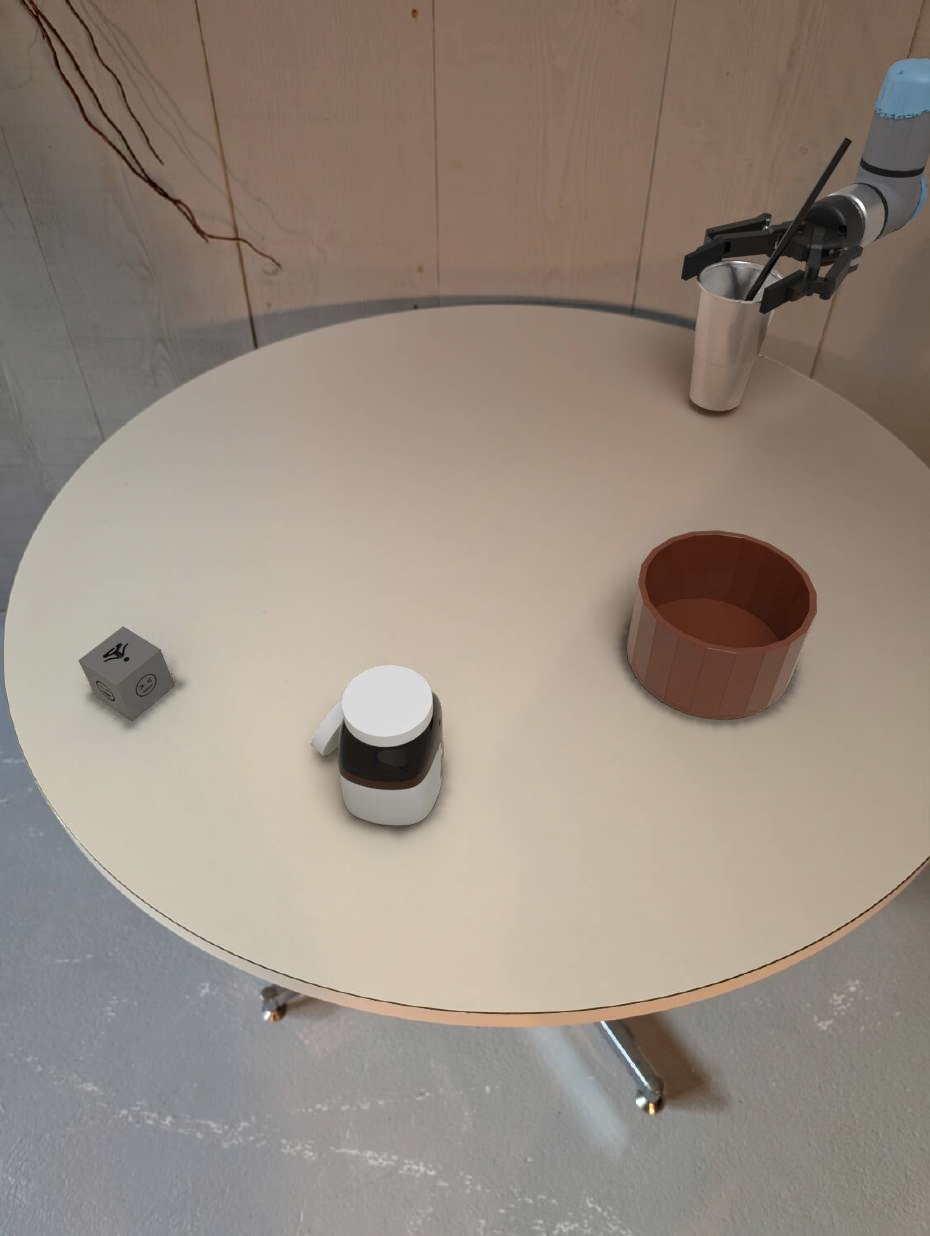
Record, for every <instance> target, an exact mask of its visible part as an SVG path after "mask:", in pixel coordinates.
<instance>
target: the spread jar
mask: <svg viewBox="0 0 930 1236" xmlns="http://www.w3.org/2000/svg"><path fill="white" fill-rule="evenodd" d="M443 722H444V719H443V709H442V704H441V700H440V698H439V696H438V695H437V694H436V693H435V692H434V691H433V690H432V688H431V686H430V683H428V682H427V680H426V679H425V678H424V677H423V676H422V675H421V674H420V673H419V672H416V670H414V669H411V668H408V667H406V666H402V665H395V664H394V665H393V664H387V665H386V664H385V665H378V666H374V667H370V668H368V669H366V670H364V671H361V672H360V673H359V674H357V675H356V676H354V678H353V679H351V680H350V681H349V682H348V683H347V685H346V686H345V688H344V690H343V692H342V697H341V698H340V700H338V702H337V703H336V704H335V705H334V706H333V707H332V709H331V710H330V711H329V712H328V714H327V715H326V716H325V717H324V719H323V720H322V722H321V723H320V724H319V726H318V728H317V729H316V731H315V733H314V734H313V737H312V738H311V741H310V746H311V748H313V749H314V750H316V751H317V752H318V753H319V754H320V755H322V756H323V757H325V756H328V755H330V754H331V753H333V752H334V751H335V750H337V765H338V776H339V777H338V778H339V780H340V781H339V783H340V787H341V792H342V796H343V800H344V804H345V807H346V808H347V810H348V811H349V812H350V813H351V814H352V815H353V816H355V817H357V818H359V819H361V820H364V821H366V822H369V823H373V824H375V825H381V826H387V827H388V826H389V827H403V826H410V825H414V824H418V823H420V822H422V821H424V820H425V818H427V817H428V816H429V814H430V813H431V811H432V809H433V808H434V806H435V804H436V802H437V800H438V798H439V794H440V791H441V786H442V782H443V773H444V751H445V750H444V748H445V747H444V745H445V744H444V724H443Z"/></svg>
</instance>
